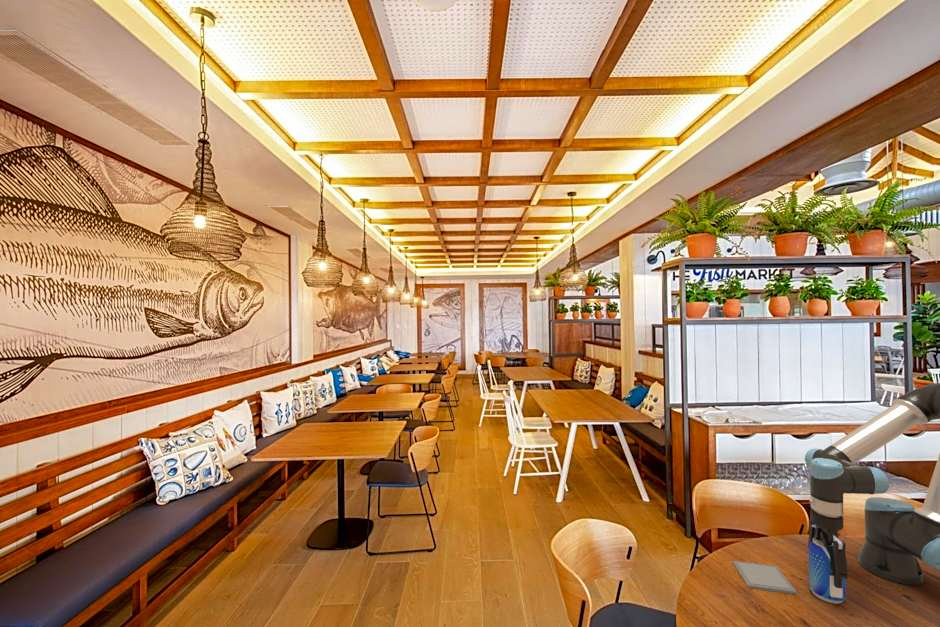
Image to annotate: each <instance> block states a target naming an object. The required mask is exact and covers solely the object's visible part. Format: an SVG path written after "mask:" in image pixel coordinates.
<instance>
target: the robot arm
mask: <svg viewBox="0 0 940 627" xmlns="http://www.w3.org/2000/svg"><path fill="white" fill-rule="evenodd" d="M936 420H940V382H937V383H931V384H926V385H922V386H919V387H917V388H915V389H912V390H910V391H907V392H905V393H903V394H901V395H900V396H898V397H897V398H894V400H893V401H892V405H891V406H890V407H888V408H886V409H885V410H882V412H881V413H879V414H877V415H875V416H874V417H872V418H871V419H869V420H868V421H866V422H864V423H863V424H862V425H860V426H859V427H856V429H854V430H852V431H851V432H849V433H848V434H846V435H844V436H843V437H841V438H840V439H838V440H837V441H835V442H833V443H832V444H831V445H829V446H828V447H826V448H824V449H822V448H811V449H809V450H807V451H806V453H805V455H804V462H805V464H806V466H808V468H809V484H810V488H809V489H810V490H809V491H810V499H809V500H808V501H809V503H810V517H809V518H810V519H809V534H808V539H807V540H808V542H807V548H808V549H809V544H810V543H811V542H812V541H813V538H816V540H821V541H823V544H824V547H825V548H827V549H828V552H829V556H830V567H831V571H832V573H829V574H830V596H831V597H837V598H842V578H844V579H846V580H848V579H849V572H848V564H847V556H846V555H847V554H846V549H847V548H846V546H847V544H846V542H845V541H841V540H840V538H839V534H838V532H839V531H841V530H843V529H844V517H843V515H844V494H848V495H849V494H856V495H857V494H858V495H860V494H861V495H865V494H867V495H876V494H877V495H879V494H885V493H887V492H888V491H889V489H890V481H889V478H888V476H887V475H886V473H885V472H884V471H883V470H881V469H880V468H878V467H875V466H874V467H872V466H861V465H857V463H858V462H860V461H861V460H863V459H865V458H866V457H868V456H870V455H872V453H874V452H876V451H878V450H879V449H880V448H882V447H884V446H885V445H887V444H889V443H890V442H892V441H893V440H895V439H897V438H898V437H900V436H901V435H902V434H904V433H906V432H907V431H910V429H912V428H914V427H915V426H917V425H922V426H924V425H926V424H928V423H929V422H931V421H936ZM926 492H927V493H926V495H925V498H924V502H923V504H922V507H918V508H916V507H915V506H914V505H913V504H912V503H909V502H906V501H904V500H901V499H900V500H899V499H894V498H889V497H881V496H878V497H876V496H875V497H874V496H873V497H868V498H866V500H865V506H864V508H863V509H864V531H865V532H864V534H865V537H864V542H863V544H862V546H861V547H860V549H859V552H858V556H857V558H858V563H859V565H860V567H862V568H863V569H864V570H866V571H867V572H869V573H871V574H874V575H876V576H877V577H880V578H882V579H885V580H888V581H891V582H894V583H898V584H902V585H906V586H907V585H909V586H919V585H922V584H924V581H925V580H924V579H925V578H924V577H925V575H924V571H923V568H922V566H921V563H920V561H919V560H922V561H923V562H924V563H925V564H927V565H928V566H930V567H933V568H934V569H935V568H936V569H937V570H939V571H940V453H939V454H938V458H937V461H936V464H935V467H934V470H933V473H932V477H931V479H930V482H929V485H928V488H927V491H926ZM828 545H831V546H833V547H831V546H828Z"/></svg>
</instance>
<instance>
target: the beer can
mask: <svg viewBox="0 0 940 627" xmlns="http://www.w3.org/2000/svg"><path fill="white" fill-rule="evenodd" d="M828 546H831V545H828ZM831 547H833V546H831ZM829 573H832V571H831V567H830V556H829V552H828V549H827V548H825V547H824V544H823V541H821V540H816V538H813V541H812V542H811V543H810V544H809V548H808V587H809V589H810V590H811V592H812V594H813V595H814V596H815V597H817V598H818V599H819V600H821V601H823V602H827V603H830V604H835V605H839V604H842V603H843V602H844V601H845V600H846V598H847V595H846V594H847V592H846V591H847V589H846V588H847V586H846V585H847V584H846V581H847V579H844V578H842V598H837V597H831V596H830V574H829Z"/></svg>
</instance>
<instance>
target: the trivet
mask: <svg viewBox="0 0 940 627" xmlns="http://www.w3.org/2000/svg"><path fill="white" fill-rule="evenodd" d="M732 564H733V566H734V567H735V569H736V570H738V571H737V572H738V573H739V576H740V577H741V578H742V579H741V580H743V582H744V583H745V585H746V587H747V588H748V589H754V590H762V591H768V592H769V591H770V592H777V593H783V594H791V595H796V596H797V594H798V592H797V590H796V589H795V588H794V587H793V585H792V584H791V582H790V581H789V580H788V579H787V578H786V576H785V575H784V574H783V573H782V571H781V570H780V569H779V567H778V565H770V564H763V563H755V562H747V561H746V562H745V561H739V560H732Z"/></svg>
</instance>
